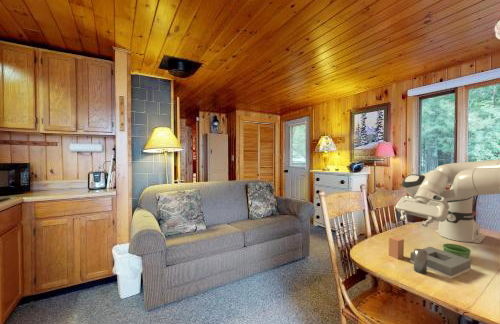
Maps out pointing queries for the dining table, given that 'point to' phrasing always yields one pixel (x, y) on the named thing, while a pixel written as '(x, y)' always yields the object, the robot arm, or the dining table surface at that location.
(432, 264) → the holder block
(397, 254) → the square bit
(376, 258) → the dining table surface
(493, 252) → the dining table surface
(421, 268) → the cylinder
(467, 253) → the ramekin
